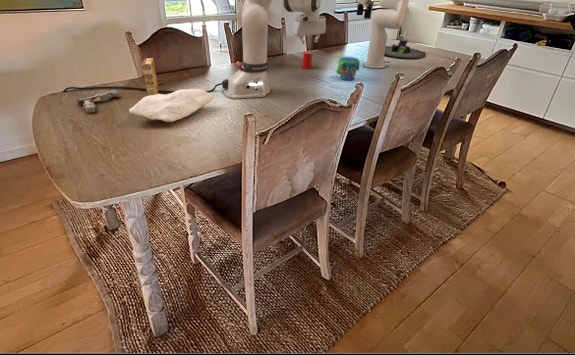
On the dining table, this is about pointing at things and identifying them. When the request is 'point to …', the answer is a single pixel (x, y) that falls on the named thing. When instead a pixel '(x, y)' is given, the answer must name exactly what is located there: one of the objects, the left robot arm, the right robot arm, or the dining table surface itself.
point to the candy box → (150, 76)
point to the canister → (307, 60)
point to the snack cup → (348, 67)
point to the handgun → (95, 100)
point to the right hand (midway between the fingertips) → (363, 16)
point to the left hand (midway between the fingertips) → (309, 43)
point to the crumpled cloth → (171, 104)
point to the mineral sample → (403, 51)
